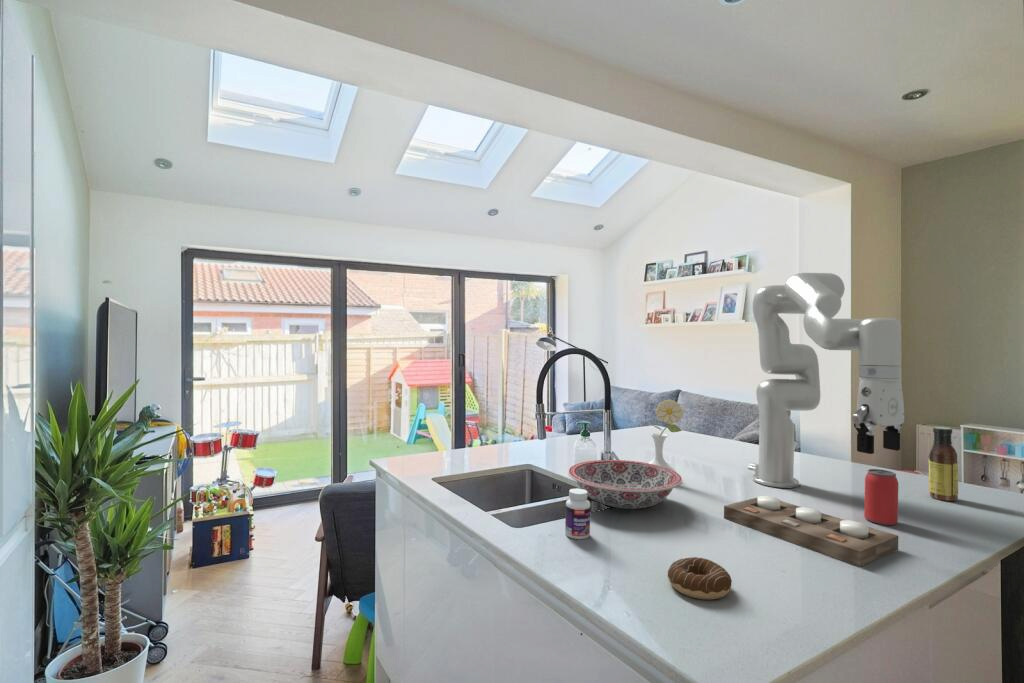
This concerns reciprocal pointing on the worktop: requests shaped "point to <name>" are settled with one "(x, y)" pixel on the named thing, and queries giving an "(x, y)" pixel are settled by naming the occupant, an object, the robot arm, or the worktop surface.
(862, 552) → the button board
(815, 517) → the middle button
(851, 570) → the worktop surface
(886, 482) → the beer can
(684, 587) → the donut
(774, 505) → the left button
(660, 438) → the flower in vase
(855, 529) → the right button
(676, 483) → the ceramic bowl
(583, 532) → the pill bottle
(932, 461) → the sauce bottle
